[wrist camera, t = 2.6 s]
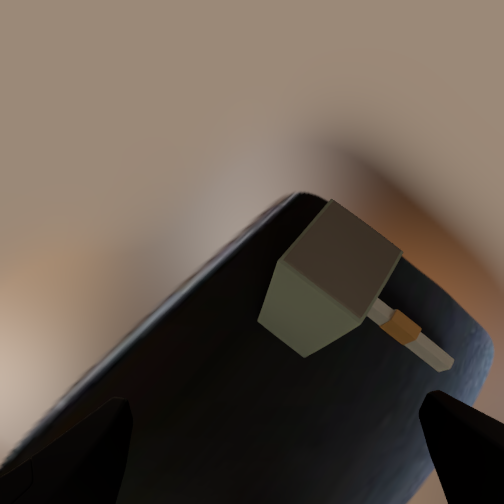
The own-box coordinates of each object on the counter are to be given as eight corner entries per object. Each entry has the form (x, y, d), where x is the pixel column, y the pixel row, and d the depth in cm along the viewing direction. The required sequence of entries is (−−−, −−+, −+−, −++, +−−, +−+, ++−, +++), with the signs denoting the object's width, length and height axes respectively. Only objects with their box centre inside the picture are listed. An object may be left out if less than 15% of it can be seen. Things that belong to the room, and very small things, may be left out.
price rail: (443, 360, 25) (458, 355, 22) (437, 372, 24) (452, 369, 22) (310, 256, 29) (317, 244, 26) (302, 267, 28) (308, 256, 26)
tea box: (338, 311, 26) (406, 248, 15) (304, 357, 24) (362, 322, 14) (293, 277, 28) (333, 194, 17) (257, 321, 26) (278, 258, 15)
